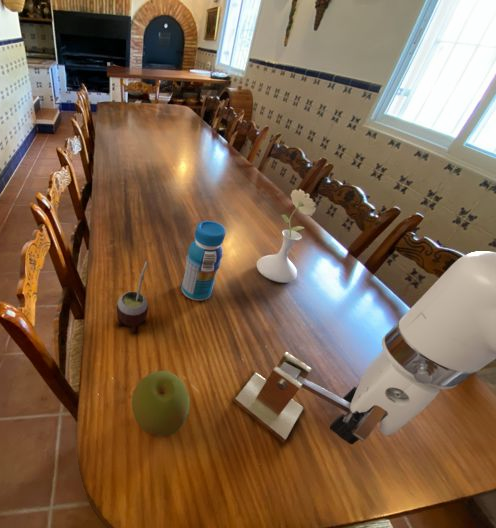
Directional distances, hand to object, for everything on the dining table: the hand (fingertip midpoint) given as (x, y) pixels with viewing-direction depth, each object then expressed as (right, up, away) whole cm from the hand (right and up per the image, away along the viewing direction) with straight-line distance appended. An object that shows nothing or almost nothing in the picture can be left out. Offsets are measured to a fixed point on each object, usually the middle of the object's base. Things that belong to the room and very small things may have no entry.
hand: (347, 420), depth 45 cm
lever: (-3, +3, +2) cm, 5 cm away
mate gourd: (-34, +10, +25) cm, 43 cm away
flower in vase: (+8, +21, +44) cm, 49 cm away
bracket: (-7, -3, +11) cm, 14 cm away
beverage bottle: (-17, +16, +35) cm, 42 cm away
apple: (-29, -4, +9) cm, 30 cm away
